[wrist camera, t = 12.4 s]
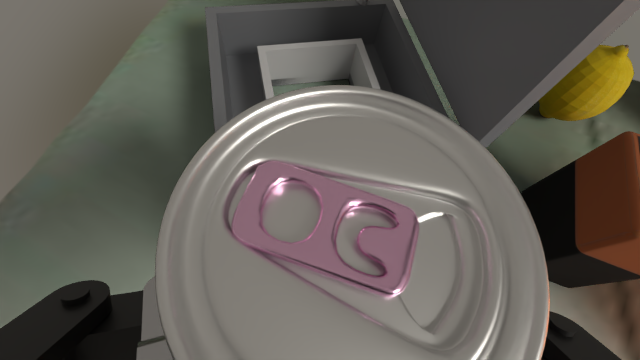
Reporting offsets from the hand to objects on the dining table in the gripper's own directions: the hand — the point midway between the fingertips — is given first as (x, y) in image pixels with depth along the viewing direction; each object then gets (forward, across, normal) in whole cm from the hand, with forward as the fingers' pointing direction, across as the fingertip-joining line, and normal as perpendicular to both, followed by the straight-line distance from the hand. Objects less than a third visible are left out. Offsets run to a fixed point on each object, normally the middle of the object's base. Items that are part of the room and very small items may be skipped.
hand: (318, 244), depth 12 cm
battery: (+10, -18, +4) cm, 21 cm away
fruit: (+19, -22, -5) cm, 29 cm away
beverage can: (+4, 0, +6) cm, 8 cm away
